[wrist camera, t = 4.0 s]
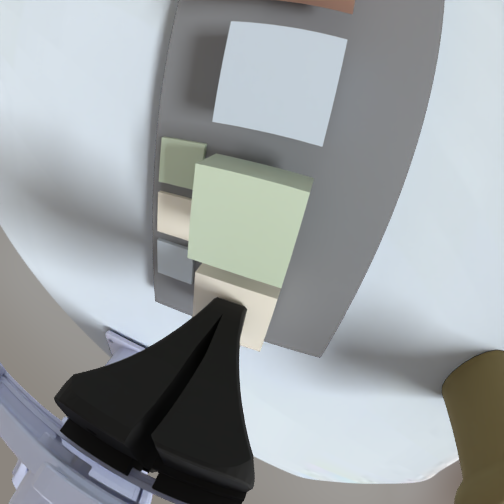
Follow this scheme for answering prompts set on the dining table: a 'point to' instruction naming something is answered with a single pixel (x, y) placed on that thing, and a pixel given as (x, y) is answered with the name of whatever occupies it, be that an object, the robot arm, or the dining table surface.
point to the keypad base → (299, 149)
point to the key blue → (279, 80)
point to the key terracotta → (329, 4)
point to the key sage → (246, 217)
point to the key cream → (238, 300)
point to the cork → (478, 426)
